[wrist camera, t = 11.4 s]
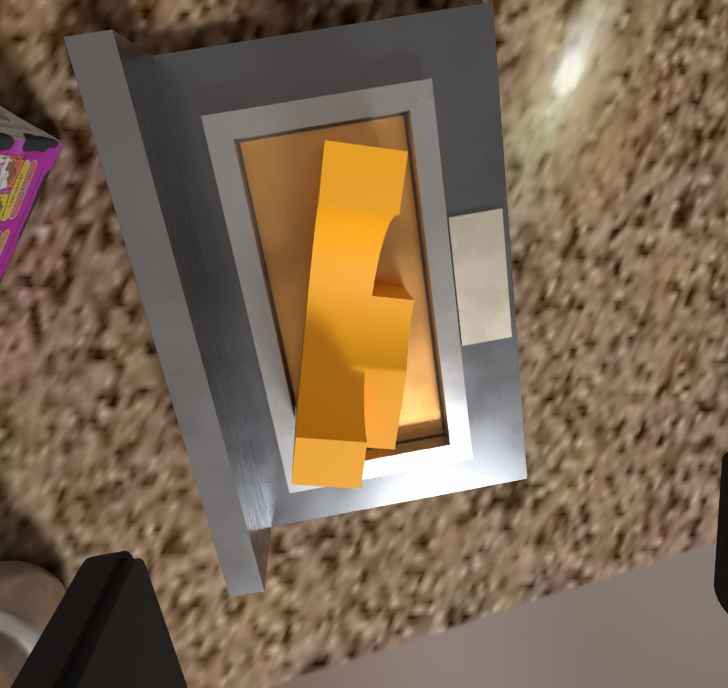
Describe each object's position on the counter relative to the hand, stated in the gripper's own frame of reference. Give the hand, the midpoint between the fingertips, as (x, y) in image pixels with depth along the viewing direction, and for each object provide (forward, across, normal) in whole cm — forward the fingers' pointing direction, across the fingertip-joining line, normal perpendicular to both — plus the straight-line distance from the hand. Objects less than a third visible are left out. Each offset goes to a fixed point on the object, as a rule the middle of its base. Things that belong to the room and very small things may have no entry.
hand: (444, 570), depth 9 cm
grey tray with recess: (+18, 0, 0) cm, 18 cm away
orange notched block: (+17, 0, -1) cm, 17 cm away
